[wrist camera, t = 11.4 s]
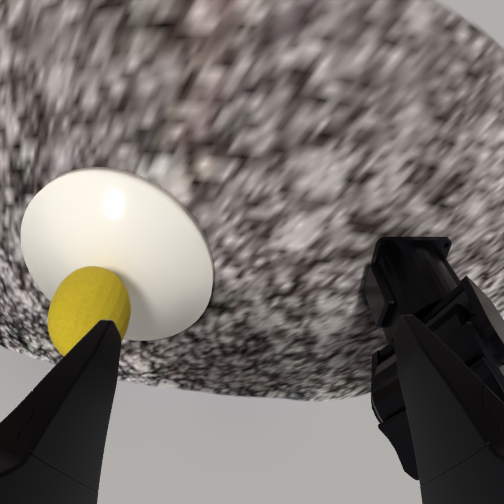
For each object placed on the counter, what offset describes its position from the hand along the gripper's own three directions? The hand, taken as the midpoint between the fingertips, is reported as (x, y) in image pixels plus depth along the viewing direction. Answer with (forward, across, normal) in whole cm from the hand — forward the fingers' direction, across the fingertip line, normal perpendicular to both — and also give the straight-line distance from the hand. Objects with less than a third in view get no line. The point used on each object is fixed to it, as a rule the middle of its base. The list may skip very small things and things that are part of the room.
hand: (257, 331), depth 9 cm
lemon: (+11, +11, +7) cm, 17 cm away
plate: (+12, +11, +7) cm, 18 cm away
